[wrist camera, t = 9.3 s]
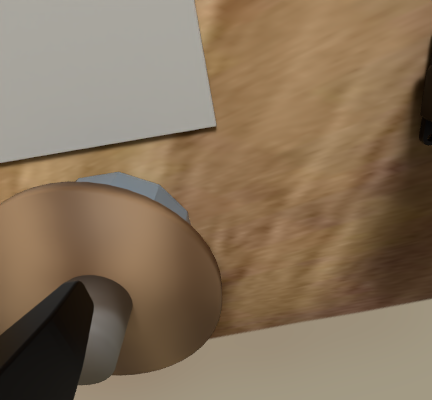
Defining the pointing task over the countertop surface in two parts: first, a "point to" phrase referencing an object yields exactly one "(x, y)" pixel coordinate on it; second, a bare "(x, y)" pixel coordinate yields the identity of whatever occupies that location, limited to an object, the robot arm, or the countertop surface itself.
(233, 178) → the countertop surface
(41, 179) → the countertop surface
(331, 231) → the countertop surface
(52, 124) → the mat
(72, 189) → the lid
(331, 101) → the countertop surface
